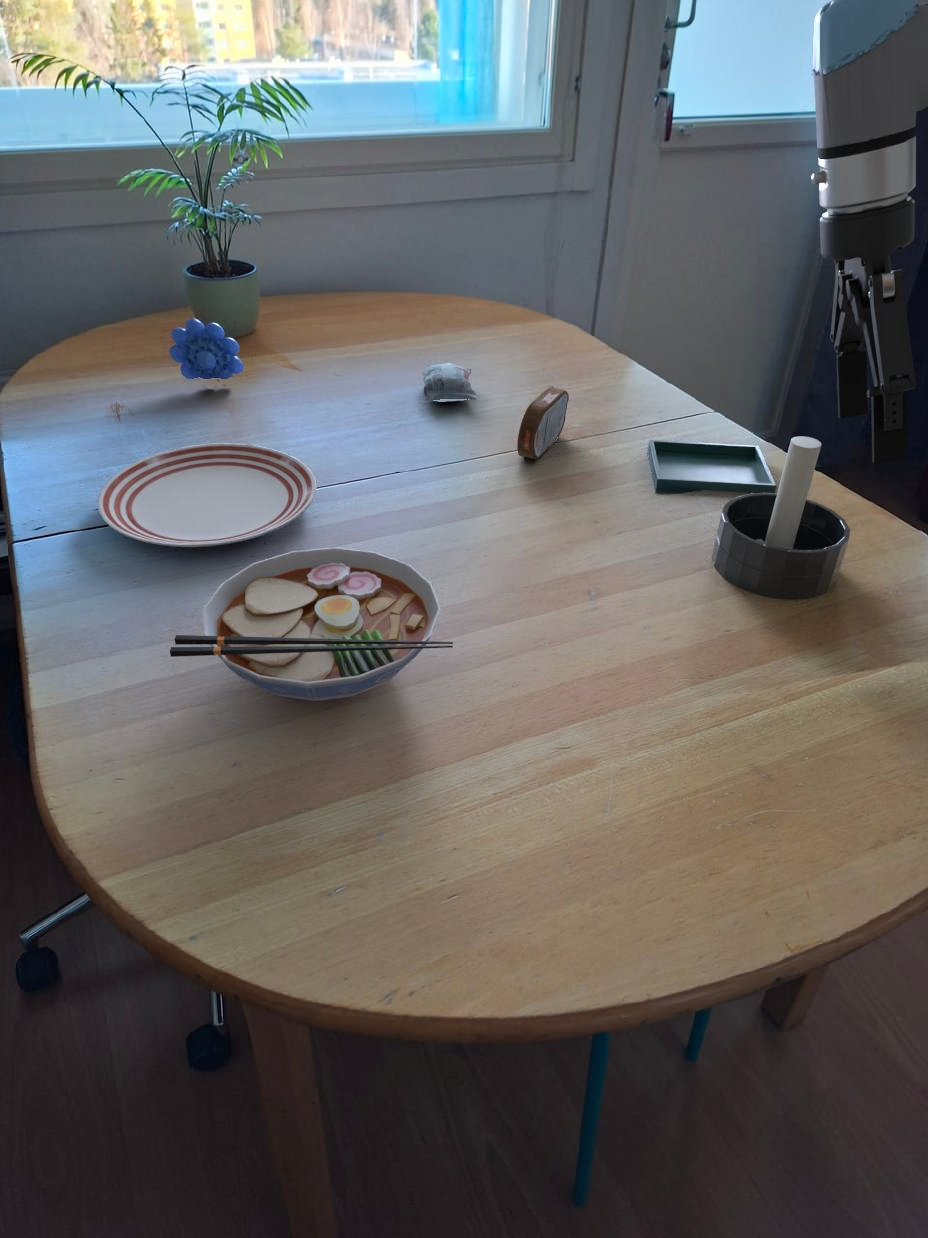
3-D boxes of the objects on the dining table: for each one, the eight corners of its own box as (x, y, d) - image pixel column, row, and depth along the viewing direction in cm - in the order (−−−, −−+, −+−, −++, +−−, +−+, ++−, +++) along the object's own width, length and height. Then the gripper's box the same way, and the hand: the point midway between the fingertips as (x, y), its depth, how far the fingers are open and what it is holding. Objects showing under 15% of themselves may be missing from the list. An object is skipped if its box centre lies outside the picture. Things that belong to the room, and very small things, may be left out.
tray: (755, 458, 131) (758, 445, 130) (773, 499, 121) (776, 485, 119) (647, 452, 132) (649, 439, 131) (655, 492, 122) (657, 478, 120)
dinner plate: (351, 530, 111) (350, 506, 109) (132, 586, 99) (126, 562, 98) (274, 449, 130) (272, 429, 128) (82, 489, 119) (77, 467, 117)
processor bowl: (817, 545, 110) (831, 496, 106) (847, 609, 99) (865, 556, 95) (703, 538, 111) (714, 489, 107) (721, 601, 100) (733, 548, 96)
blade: (785, 543, 109) (818, 422, 100) (827, 581, 102) (867, 455, 93) (720, 551, 107) (748, 429, 98) (759, 591, 100) (792, 463, 91)
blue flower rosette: (174, 400, 145) (162, 327, 138) (177, 385, 151) (164, 315, 144) (246, 396, 147) (237, 324, 140) (245, 381, 153) (237, 312, 146)
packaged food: (471, 384, 154) (471, 356, 151) (476, 410, 144) (477, 381, 142) (421, 385, 154) (421, 357, 151) (424, 411, 144) (423, 382, 141)
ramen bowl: (450, 603, 98) (451, 540, 93) (452, 745, 79) (453, 676, 75) (226, 602, 97) (215, 539, 93) (175, 746, 79) (159, 675, 74)
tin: (549, 428, 139) (554, 377, 134) (568, 432, 138) (573, 380, 133) (513, 465, 128) (517, 410, 123) (533, 469, 127) (537, 414, 122)
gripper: (793, 200, 87) (804, 406, 97) (855, 230, 66) (860, 490, 76) (874, 181, 85) (876, 393, 95) (964, 206, 64) (955, 475, 74)
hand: (869, 436), depth 85 cm, fingers open, 13 cm apart
